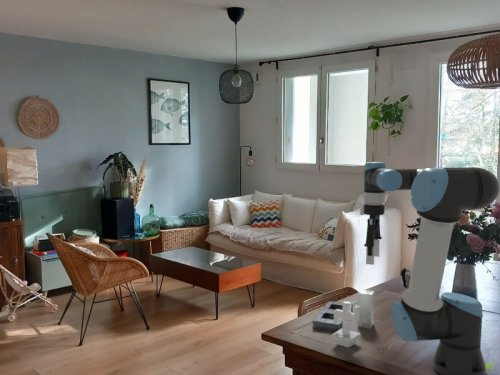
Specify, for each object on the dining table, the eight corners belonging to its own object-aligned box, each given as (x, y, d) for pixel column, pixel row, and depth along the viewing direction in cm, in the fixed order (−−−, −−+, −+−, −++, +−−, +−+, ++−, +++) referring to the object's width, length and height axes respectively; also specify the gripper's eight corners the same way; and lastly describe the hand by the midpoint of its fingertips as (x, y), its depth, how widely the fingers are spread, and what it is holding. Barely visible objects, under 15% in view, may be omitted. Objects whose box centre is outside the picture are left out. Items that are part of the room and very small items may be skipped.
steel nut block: (371, 328, 186) (371, 294, 184) (357, 326, 188) (358, 293, 186) (373, 324, 190) (374, 291, 189) (360, 322, 192) (361, 289, 191)
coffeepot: (436, 312, 203) (437, 269, 201) (418, 316, 199) (420, 272, 197) (408, 301, 217) (410, 260, 215) (392, 304, 212) (393, 263, 211)
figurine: (339, 337, 178) (339, 296, 176) (363, 344, 172) (364, 302, 170) (328, 343, 172) (329, 301, 170) (353, 351, 166) (354, 307, 165)
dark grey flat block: (339, 332, 182) (339, 324, 181) (312, 328, 186) (312, 320, 185) (352, 311, 204) (353, 304, 203) (329, 308, 208) (329, 301, 207)
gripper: (369, 199, 197) (367, 252, 198) (357, 207, 174) (356, 266, 175) (388, 200, 194) (387, 254, 196) (379, 208, 171) (378, 268, 173)
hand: (372, 260), depth 186 cm, fingers open, 13 cm apart
